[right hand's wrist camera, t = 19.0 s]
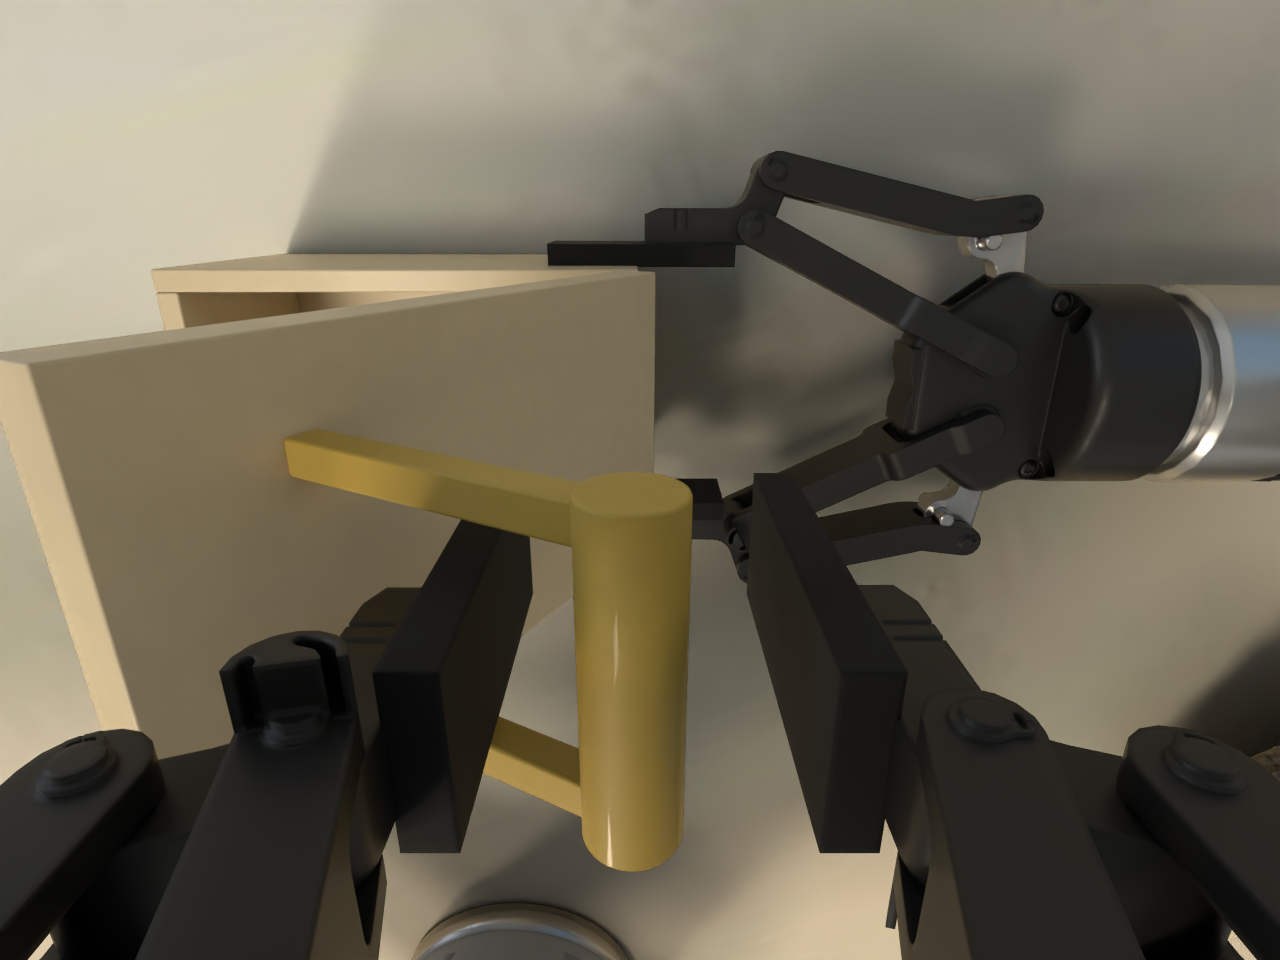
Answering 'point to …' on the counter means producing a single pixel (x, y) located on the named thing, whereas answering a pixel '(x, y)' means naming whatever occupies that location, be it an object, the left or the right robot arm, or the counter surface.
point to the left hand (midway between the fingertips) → (557, 383)
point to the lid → (374, 511)
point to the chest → (336, 282)
